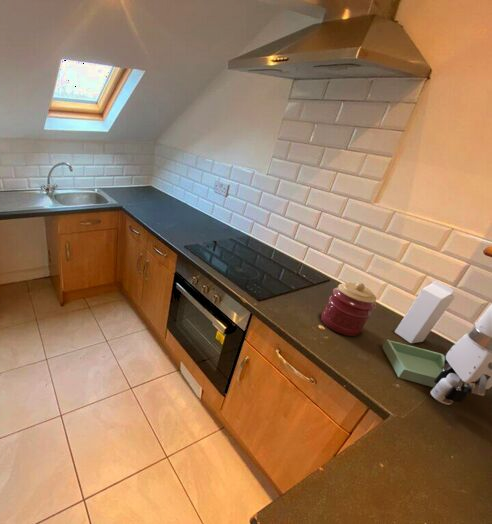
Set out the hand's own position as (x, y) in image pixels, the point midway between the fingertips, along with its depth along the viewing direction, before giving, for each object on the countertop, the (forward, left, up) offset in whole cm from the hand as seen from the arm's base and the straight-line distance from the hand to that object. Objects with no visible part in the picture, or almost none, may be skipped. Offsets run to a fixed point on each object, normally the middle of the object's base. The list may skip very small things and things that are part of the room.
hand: (446, 391), depth 79 cm
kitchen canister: (+18, -27, -5) cm, 33 cm away
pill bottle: (0, 0, -3) cm, 3 cm away
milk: (-5, -31, -5) cm, 31 cm away
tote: (-1, -13, -5) cm, 14 cm away
